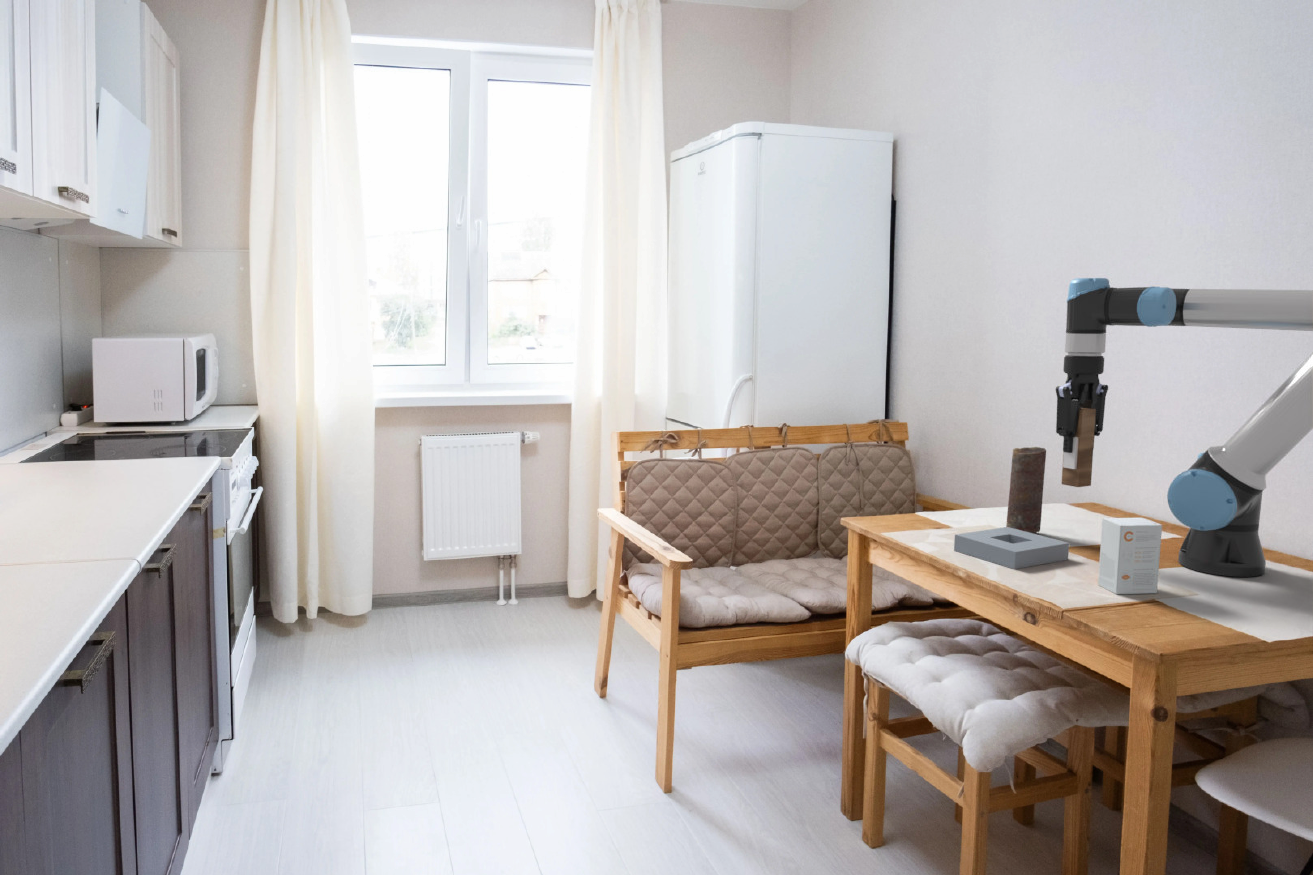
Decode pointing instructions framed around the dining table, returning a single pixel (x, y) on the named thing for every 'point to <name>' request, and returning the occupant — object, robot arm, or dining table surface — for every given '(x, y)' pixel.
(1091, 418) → the peg
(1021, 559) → the socket
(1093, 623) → the dining table surface
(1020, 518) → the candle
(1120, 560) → the small box
